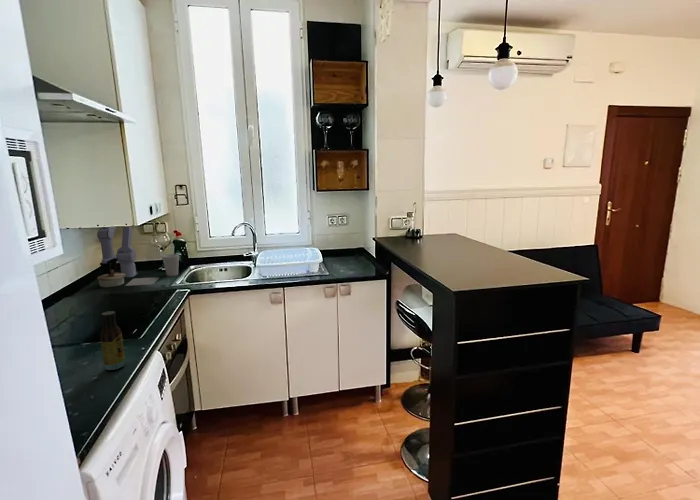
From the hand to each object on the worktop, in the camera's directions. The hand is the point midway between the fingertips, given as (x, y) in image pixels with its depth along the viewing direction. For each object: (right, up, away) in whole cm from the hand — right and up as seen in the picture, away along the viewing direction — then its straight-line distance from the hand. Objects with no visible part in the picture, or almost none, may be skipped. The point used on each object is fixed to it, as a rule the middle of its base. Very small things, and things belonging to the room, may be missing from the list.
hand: (110, 272), depth 224 cm
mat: (+15, -6, +7) cm, 18 cm away
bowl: (0, -7, +2) cm, 7 cm away
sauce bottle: (+59, -28, -92) cm, 112 cm away
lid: (0, -3, +1) cm, 3 cm away
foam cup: (+26, -3, +21) cm, 34 cm away
